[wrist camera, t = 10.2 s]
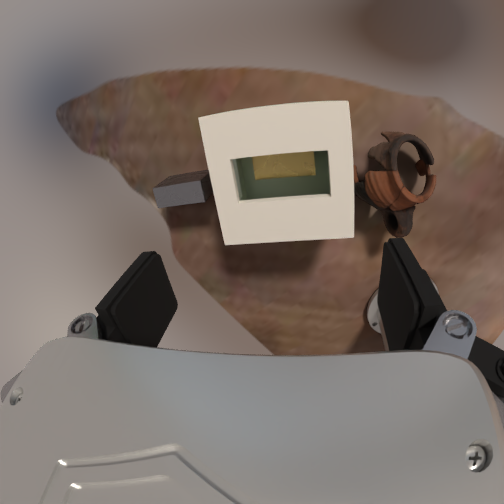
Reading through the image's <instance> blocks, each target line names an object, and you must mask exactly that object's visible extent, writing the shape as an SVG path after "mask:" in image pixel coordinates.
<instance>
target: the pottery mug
mask: <svg viewBox="0 0 504 504" xmlns="http://www.w3.org/2000/svg"><path fill="white" fill-rule="evenodd" d="M381 135H382V136H384V137H385V138H386V139H387V140H388V142H389V143H388V142H383V143H380V144H378V145H377V146H375V147H372V148H371V149H370V151H369V153H368V157H369V158H373V159H375V160H376V161H377V162H378V163H380V164H381V165H382V167H383V168H384V169H385V171H368V172H367V173H366V174H365V181H362V182H359V181H358V177H357V167H356V166H355V165H353V169H354V193H355V194H356V195H357V196H358V197H359V198H360V199H362V200H364V201H366V202H367V203H369V204H370V205H372V206H373V207H375V208H376V209H379V210H380V212H381V213H382V216H383V218H384V222H385V225H386V228H387V230H388V231H389V233H390V234H391V235H393V236H395V237H396V238H398V237H400V238H402V237H404V236H407V235H408V234H409V232H410V231H411V229H412V224H413V222H412V218H413V212H414V210H415V206H414V205H415V204H416V203H417V204H419V203H422V202H424V201H426V200H427V199H428V198H429V197H430V196H431V195H432V193H433V191H434V188H435V185H436V175H431V174H430V168H429V165H433V164H434V158H433V156H432V153H431V151H430V150H429V148H428V147H427V145H426V144H425V143H424V142H423V141H422V140H421V139H419V138H418V137H416V136H415V135H411V134H404V133H402V132H382V133H381ZM404 142H410V143H412V144H413V145H414V146H415V147H416V149H417V151H418V154H419V157H420V160H419V161H418V162H417V163H416V168H417V171H418V173H419V175H420V176H424V175H426V183H425V187H424V190H423V192H422V193H421V194H420V195H414V194H412V193H410V192H409V191H408V190H407V189H406V187H405V186H404V185H403V183H402V181H401V178H400V175H399V172H398V170H397V155H398V151H399V148H400V146H401V145H402V144H403V143H404Z"/></svg>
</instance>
